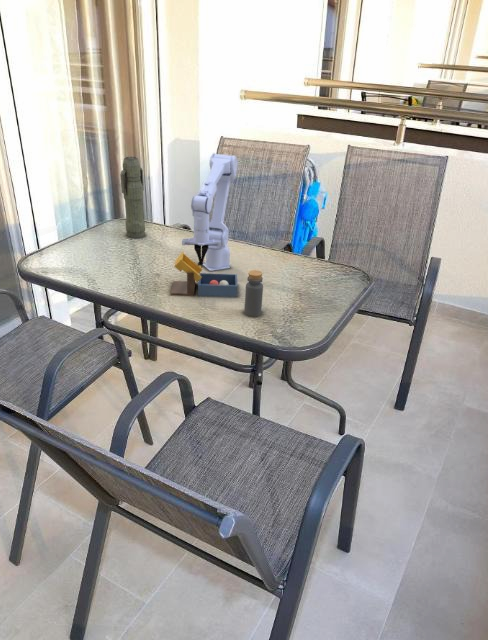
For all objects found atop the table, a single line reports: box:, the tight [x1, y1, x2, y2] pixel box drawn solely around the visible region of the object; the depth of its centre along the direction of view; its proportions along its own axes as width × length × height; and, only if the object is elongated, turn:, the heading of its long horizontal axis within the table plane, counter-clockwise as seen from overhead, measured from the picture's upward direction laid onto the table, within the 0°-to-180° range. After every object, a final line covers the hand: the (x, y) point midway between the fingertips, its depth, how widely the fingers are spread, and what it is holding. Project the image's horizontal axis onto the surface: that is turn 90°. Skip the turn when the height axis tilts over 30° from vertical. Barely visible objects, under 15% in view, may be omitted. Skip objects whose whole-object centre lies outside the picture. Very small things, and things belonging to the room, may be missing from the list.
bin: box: [197, 272, 239, 298], centre depth 190 cm, size 14×11×4 cm
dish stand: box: [170, 261, 196, 297], centre depth 188 cm, size 8×11×9 cm
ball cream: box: [219, 280, 229, 285], centre depth 190 cm, size 4×4×4 cm
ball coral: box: [209, 280, 219, 285], centre depth 190 cm, size 4×4×4 cm
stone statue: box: [119, 156, 146, 239], centre depth 232 cm, size 9×12×35 cm
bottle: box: [244, 269, 264, 317], centre depth 172 cm, size 6×6×15 cm
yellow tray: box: [173, 251, 204, 283], centre depth 189 cm, size 10×15×4 cm
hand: (201, 263), depth 195 cm, fingers closed
